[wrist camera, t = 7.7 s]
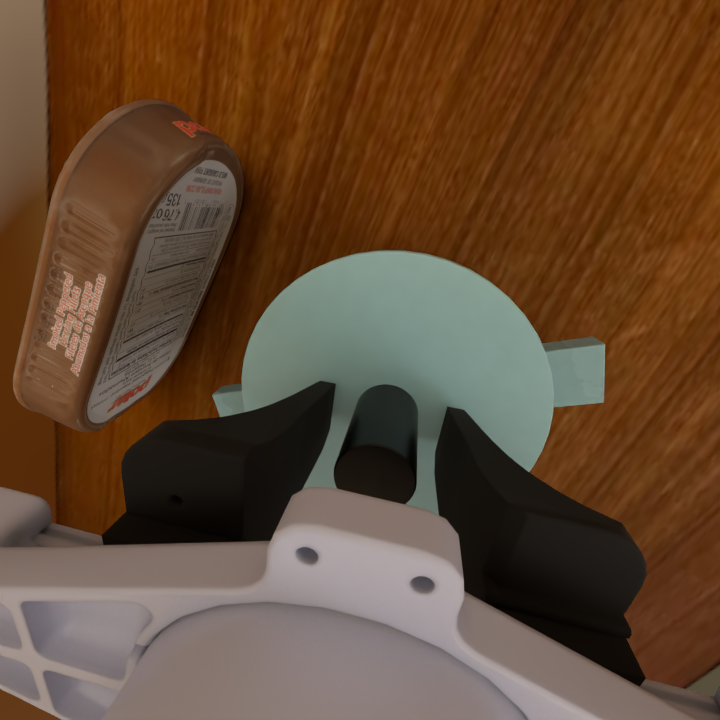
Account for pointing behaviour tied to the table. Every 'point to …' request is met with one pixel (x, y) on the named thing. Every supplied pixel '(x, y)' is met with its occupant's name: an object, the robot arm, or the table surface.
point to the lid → (401, 367)
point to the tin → (125, 262)
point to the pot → (567, 363)
